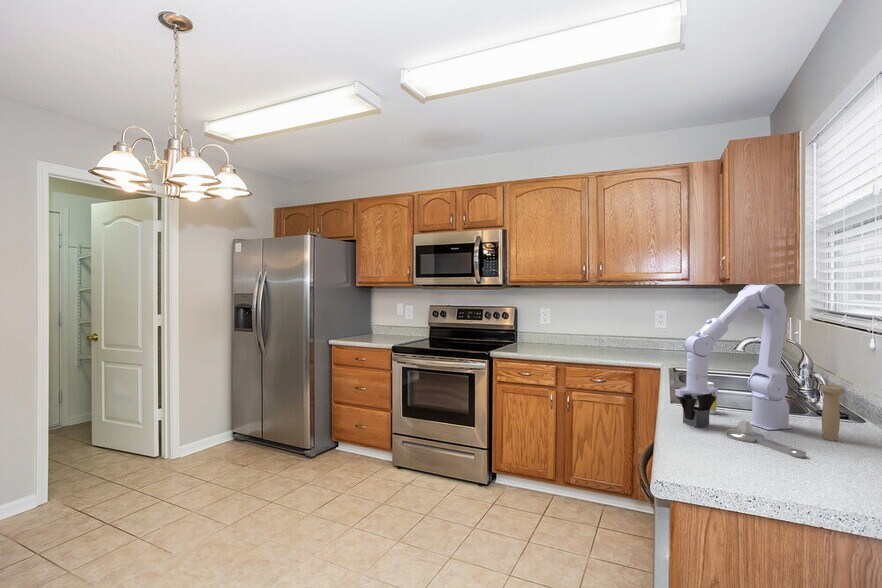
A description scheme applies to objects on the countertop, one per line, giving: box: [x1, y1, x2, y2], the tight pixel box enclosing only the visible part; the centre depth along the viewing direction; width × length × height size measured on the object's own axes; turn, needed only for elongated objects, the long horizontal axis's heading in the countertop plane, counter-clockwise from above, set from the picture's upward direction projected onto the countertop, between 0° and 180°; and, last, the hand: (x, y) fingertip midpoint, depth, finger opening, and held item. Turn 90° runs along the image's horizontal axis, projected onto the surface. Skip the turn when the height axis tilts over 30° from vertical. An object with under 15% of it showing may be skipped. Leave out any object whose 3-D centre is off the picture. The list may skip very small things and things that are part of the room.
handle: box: [819, 384, 844, 442], centre depth 127 cm, size 5×6×15 cm
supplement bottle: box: [697, 381, 718, 415], centre depth 154 cm, size 6×6×10 cm
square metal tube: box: [682, 405, 710, 428], centre depth 139 cm, size 5×5×5 cm
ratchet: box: [725, 419, 807, 459], centre depth 122 cm, size 9×21×5 cm, turn 16°
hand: (695, 418), depth 139 cm, fingers closed on square metal tube, 5 cm apart
